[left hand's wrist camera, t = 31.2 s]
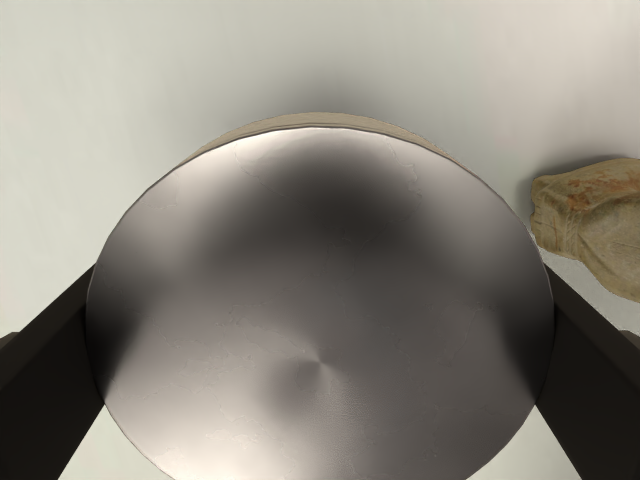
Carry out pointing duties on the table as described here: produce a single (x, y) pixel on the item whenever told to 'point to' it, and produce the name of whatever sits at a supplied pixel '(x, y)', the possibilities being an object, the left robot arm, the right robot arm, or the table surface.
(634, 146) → the table surface
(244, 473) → the lid
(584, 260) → the sculpture
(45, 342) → the left robot arm
